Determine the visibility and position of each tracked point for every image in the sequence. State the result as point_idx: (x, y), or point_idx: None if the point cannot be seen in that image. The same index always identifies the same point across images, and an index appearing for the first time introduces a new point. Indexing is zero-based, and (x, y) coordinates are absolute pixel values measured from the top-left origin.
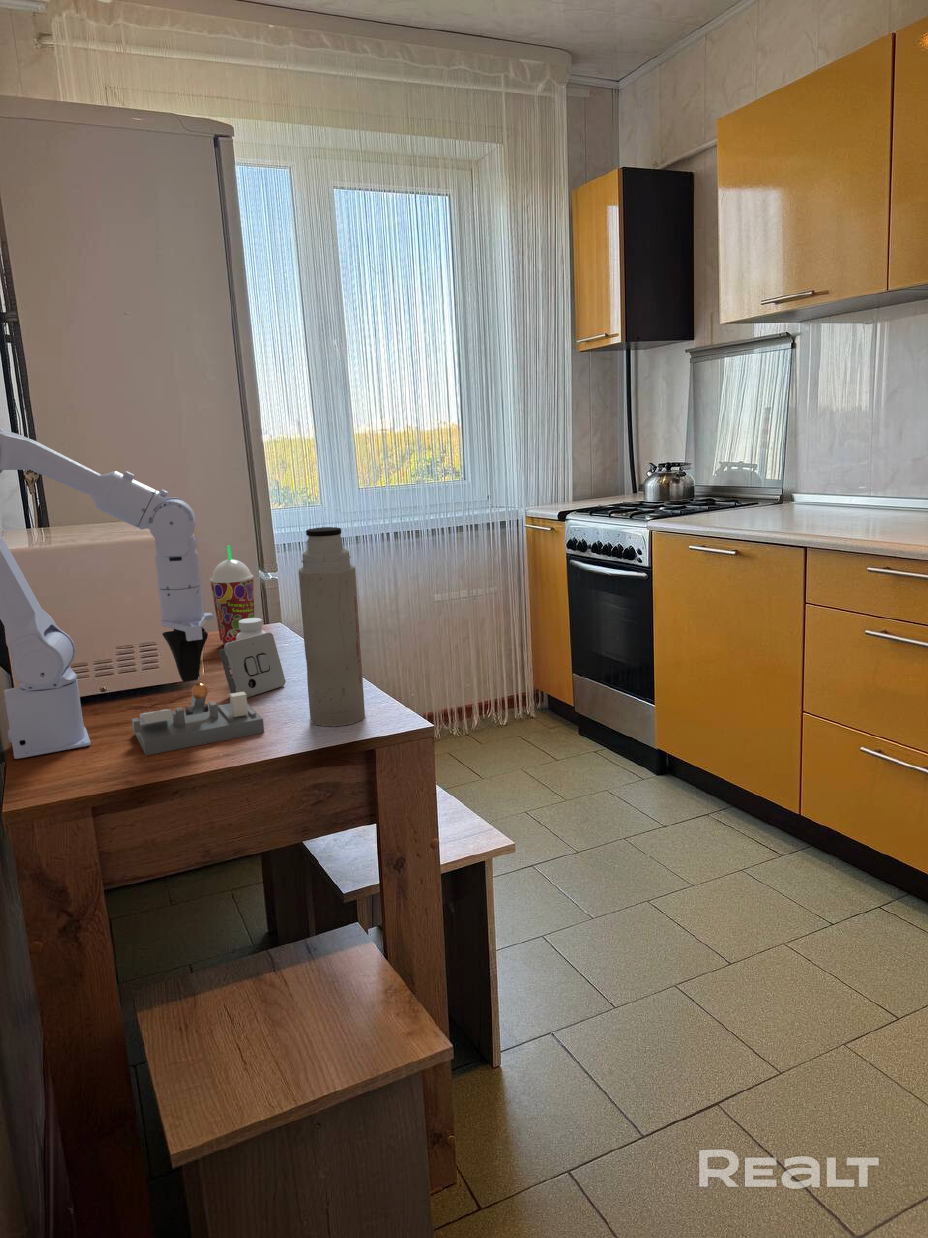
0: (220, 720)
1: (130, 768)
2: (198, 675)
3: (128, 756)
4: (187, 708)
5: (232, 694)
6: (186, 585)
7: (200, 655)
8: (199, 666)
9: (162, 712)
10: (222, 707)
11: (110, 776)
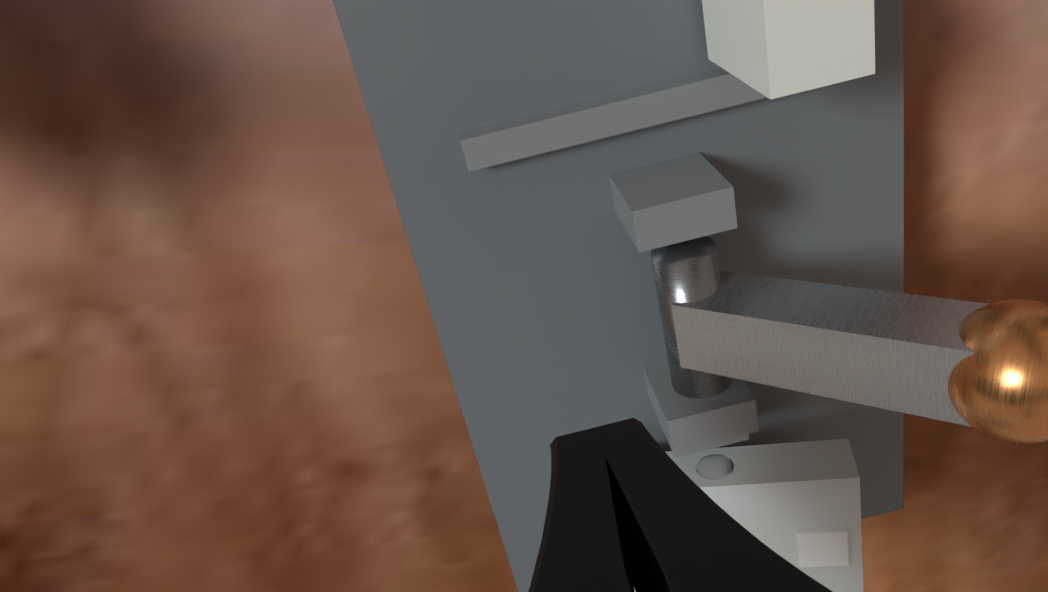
0: (769, 136)
1: (987, 492)
2: (646, 433)
3: None
4: (723, 381)
5: (800, 70)
6: None
7: (778, 558)
8: (688, 480)
9: (859, 518)
10: (543, 131)
11: (1028, 544)
